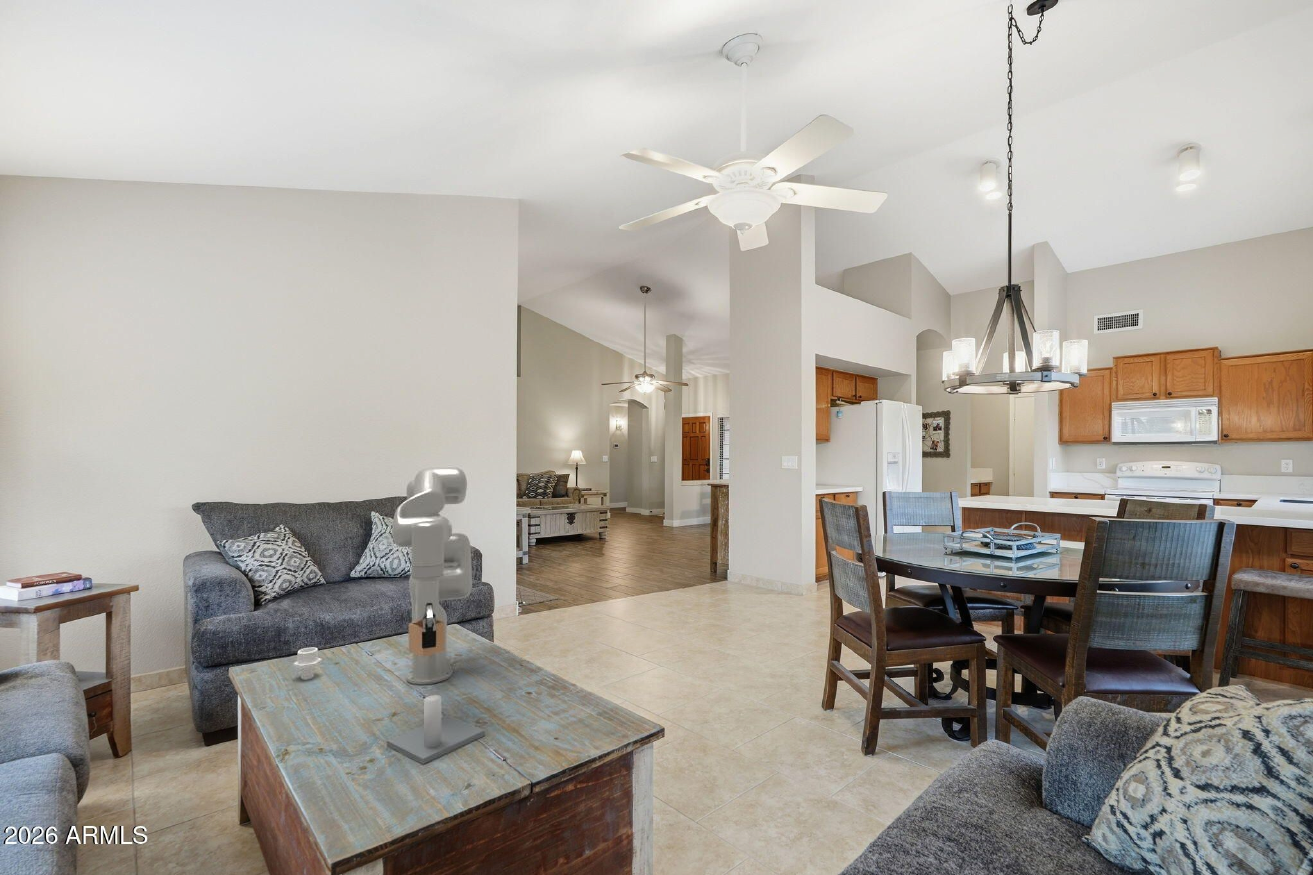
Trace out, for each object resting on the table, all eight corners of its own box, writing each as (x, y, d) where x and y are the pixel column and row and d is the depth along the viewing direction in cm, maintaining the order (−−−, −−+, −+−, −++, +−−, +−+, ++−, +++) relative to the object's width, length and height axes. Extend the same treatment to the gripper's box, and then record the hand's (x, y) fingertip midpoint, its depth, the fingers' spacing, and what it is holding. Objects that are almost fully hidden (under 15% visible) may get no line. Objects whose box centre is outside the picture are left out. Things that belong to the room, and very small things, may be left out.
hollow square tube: (430, 644, 154) (430, 617, 154) (444, 650, 151) (444, 621, 151) (408, 651, 150) (408, 623, 149) (423, 657, 146) (423, 628, 146)
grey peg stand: (448, 719, 150) (448, 673, 150) (484, 735, 141) (484, 686, 142) (386, 745, 137) (386, 695, 137) (422, 764, 128) (422, 710, 129)
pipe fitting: (310, 672, 183) (310, 645, 183) (325, 675, 179) (325, 648, 180) (289, 679, 177) (289, 651, 177) (304, 683, 174) (305, 655, 174)
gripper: (410, 565, 157) (410, 633, 157) (412, 580, 141) (412, 655, 141) (441, 563, 160) (441, 629, 160) (447, 577, 144) (447, 650, 144)
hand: (427, 641), depth 150 cm, fingers closed on hollow square tube, 8 cm apart
